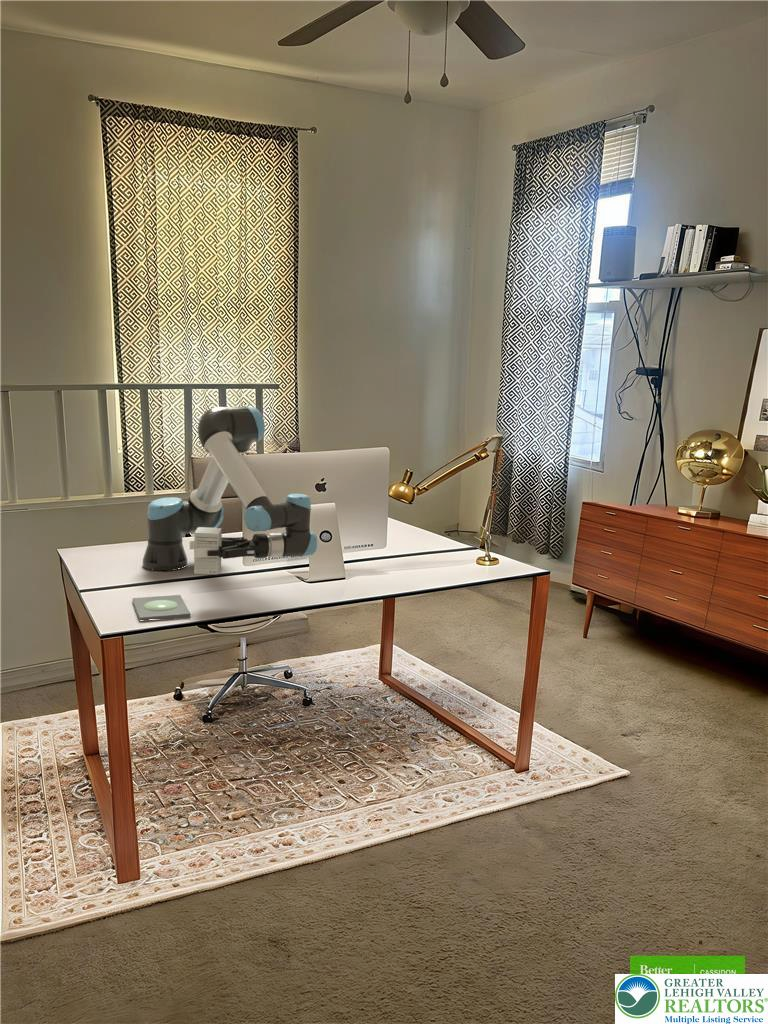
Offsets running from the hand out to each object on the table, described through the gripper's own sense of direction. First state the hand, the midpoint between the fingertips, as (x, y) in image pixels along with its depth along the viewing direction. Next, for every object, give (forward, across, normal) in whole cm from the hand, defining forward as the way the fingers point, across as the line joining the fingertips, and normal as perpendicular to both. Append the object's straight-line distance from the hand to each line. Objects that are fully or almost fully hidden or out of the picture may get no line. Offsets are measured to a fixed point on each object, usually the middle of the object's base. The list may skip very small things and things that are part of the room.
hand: (192, 548), depth 235 cm
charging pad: (+9, -2, -17) cm, 20 cm away
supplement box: (-5, 0, -7) cm, 9 cm away
